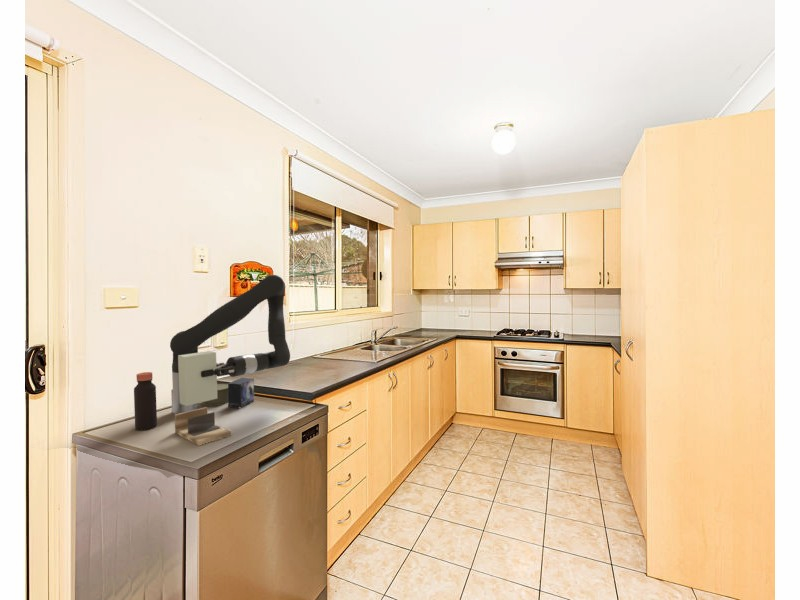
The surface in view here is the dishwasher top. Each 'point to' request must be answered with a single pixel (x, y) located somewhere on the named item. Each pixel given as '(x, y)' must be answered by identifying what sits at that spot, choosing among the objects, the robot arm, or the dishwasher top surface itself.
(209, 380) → the book
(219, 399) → the can
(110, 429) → the dishwasher top surface
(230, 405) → the small box
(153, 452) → the dishwasher top surface
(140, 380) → the bottle
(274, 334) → the robot arm
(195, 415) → the rack
